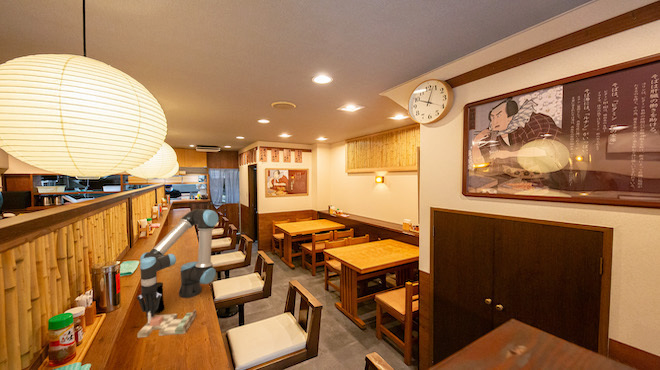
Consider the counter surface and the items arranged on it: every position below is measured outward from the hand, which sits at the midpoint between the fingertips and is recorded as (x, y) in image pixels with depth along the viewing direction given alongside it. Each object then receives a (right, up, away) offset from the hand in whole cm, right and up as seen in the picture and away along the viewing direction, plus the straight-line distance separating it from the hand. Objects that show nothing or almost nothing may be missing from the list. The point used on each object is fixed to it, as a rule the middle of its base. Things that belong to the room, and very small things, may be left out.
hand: (150, 321), depth 148 cm
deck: (+9, -4, +2) cm, 10 cm away
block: (+3, -1, 0) cm, 3 cm away
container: (-9, -2, +17) cm, 19 cm away
